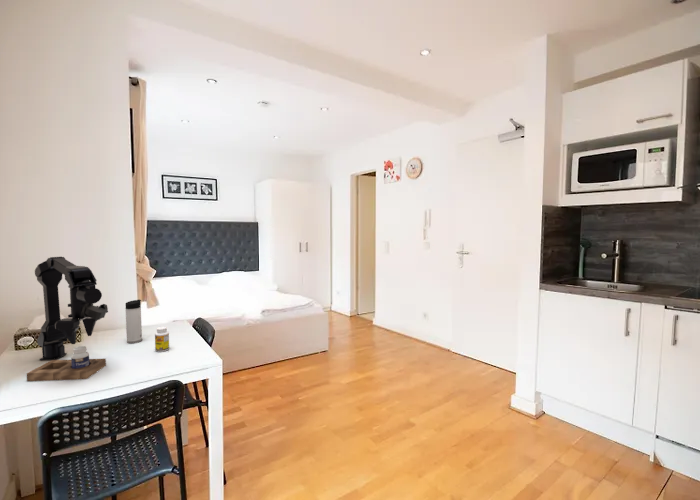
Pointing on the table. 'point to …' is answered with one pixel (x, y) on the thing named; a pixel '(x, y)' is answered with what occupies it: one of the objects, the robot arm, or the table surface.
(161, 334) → the supplement bottle
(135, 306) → the travel mug
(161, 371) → the table surface
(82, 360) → the pill bottle
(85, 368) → the socket block
